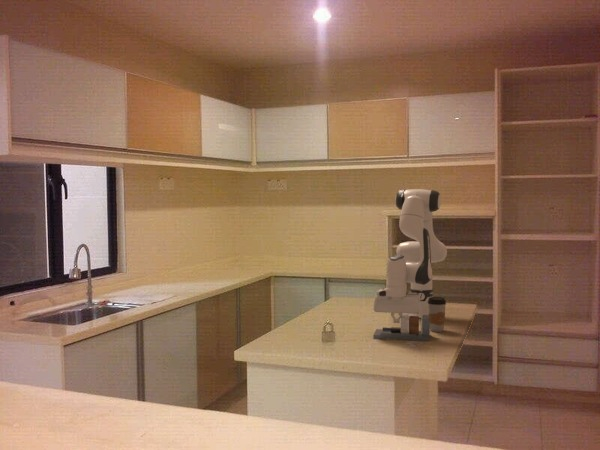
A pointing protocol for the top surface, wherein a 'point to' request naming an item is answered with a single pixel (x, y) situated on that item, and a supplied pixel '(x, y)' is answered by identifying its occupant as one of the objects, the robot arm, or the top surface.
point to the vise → (422, 336)
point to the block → (414, 325)
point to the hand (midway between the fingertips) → (396, 322)
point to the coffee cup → (437, 313)
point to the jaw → (402, 325)
